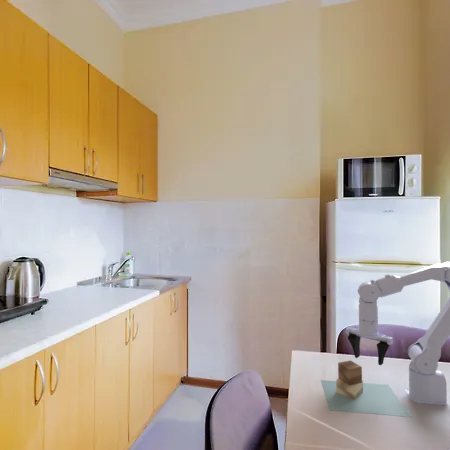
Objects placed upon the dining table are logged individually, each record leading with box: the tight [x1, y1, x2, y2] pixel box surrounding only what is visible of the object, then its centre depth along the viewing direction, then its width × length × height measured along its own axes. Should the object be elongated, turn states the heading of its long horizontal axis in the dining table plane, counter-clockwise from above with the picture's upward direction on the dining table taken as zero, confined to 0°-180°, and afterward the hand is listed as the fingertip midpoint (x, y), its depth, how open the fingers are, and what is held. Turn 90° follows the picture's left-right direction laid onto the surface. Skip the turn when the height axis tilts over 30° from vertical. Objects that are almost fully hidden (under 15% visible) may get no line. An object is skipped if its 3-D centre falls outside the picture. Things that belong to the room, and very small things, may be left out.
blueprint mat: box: [320, 379, 412, 418], centre depth 97 cm, size 22×18×1 cm
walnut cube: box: [337, 359, 363, 385], centre depth 100 cm, size 5×5×5 cm
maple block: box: [335, 377, 364, 400], centre depth 100 cm, size 6×6×4 cm
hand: (368, 360), depth 103 cm, fingers open, 7 cm apart
